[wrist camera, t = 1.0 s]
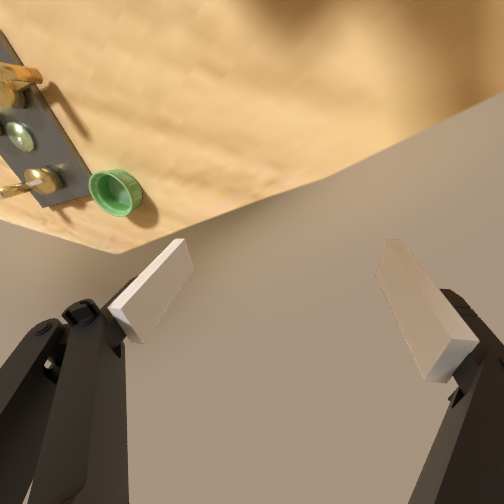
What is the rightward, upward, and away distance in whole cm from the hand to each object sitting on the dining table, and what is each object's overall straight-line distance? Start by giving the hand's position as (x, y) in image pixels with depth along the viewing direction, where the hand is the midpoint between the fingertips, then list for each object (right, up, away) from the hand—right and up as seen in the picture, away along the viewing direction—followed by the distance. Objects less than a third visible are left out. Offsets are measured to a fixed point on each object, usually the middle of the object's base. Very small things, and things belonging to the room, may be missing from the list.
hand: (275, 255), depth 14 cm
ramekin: (-28, +14, +30) cm, 44 cm away
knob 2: (-47, +16, +31) cm, 59 cm away
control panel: (-46, +23, +28) cm, 59 cm away
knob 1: (-41, +29, +21) cm, 54 cm away
